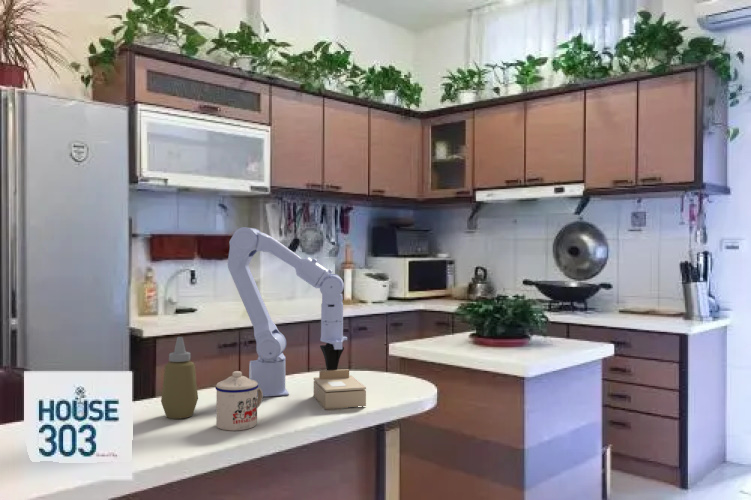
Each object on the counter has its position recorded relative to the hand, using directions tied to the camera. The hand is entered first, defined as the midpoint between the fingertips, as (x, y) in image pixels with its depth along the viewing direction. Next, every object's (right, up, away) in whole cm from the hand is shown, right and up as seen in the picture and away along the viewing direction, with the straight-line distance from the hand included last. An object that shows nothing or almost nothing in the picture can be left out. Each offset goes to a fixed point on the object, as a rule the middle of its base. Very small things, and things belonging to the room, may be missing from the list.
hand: (331, 372), depth 166 cm
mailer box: (+2, -6, -7) cm, 10 cm away
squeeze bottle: (-33, -6, -22) cm, 40 cm away
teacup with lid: (-18, -6, -27) cm, 33 cm away
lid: (+2, -1, -7) cm, 8 cm away
